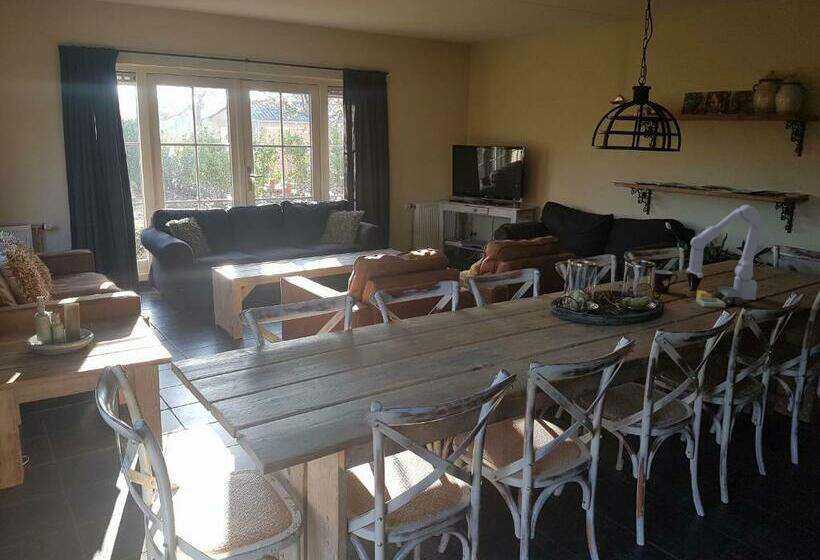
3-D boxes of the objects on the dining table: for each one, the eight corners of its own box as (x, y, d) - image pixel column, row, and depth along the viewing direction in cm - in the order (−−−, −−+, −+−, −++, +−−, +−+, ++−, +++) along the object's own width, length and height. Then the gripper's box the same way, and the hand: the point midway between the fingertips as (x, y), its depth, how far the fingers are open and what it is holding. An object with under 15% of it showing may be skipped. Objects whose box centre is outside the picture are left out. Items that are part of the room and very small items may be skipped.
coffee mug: (652, 293, 321) (654, 273, 319) (651, 289, 329) (653, 269, 327) (677, 295, 318) (679, 274, 316) (676, 291, 326) (678, 271, 324)
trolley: (731, 299, 310) (733, 286, 309) (743, 306, 299) (745, 292, 297) (712, 299, 311) (714, 286, 309) (723, 305, 299) (725, 292, 298)
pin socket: (697, 293, 322) (697, 289, 322) (702, 296, 315) (703, 292, 315) (682, 292, 322) (683, 288, 322) (687, 296, 316) (688, 292, 315)
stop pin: (694, 293, 320) (696, 279, 319) (697, 294, 317) (698, 280, 316) (688, 293, 320) (689, 279, 319) (690, 294, 317) (692, 280, 316)
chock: (706, 299, 312) (707, 290, 311) (711, 301, 307) (712, 293, 306) (696, 298, 312) (697, 290, 311) (700, 301, 307) (701, 293, 306)
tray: (716, 302, 305) (717, 298, 304) (725, 307, 295) (725, 303, 295) (695, 301, 305) (696, 297, 305) (703, 307, 296) (704, 302, 295)
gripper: (682, 258, 322) (679, 285, 325) (693, 264, 308) (690, 292, 311) (696, 258, 322) (693, 285, 325) (708, 264, 308) (705, 292, 311)
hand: (693, 289), depth 318 cm, fingers closed on stop pin, 3 cm apart
